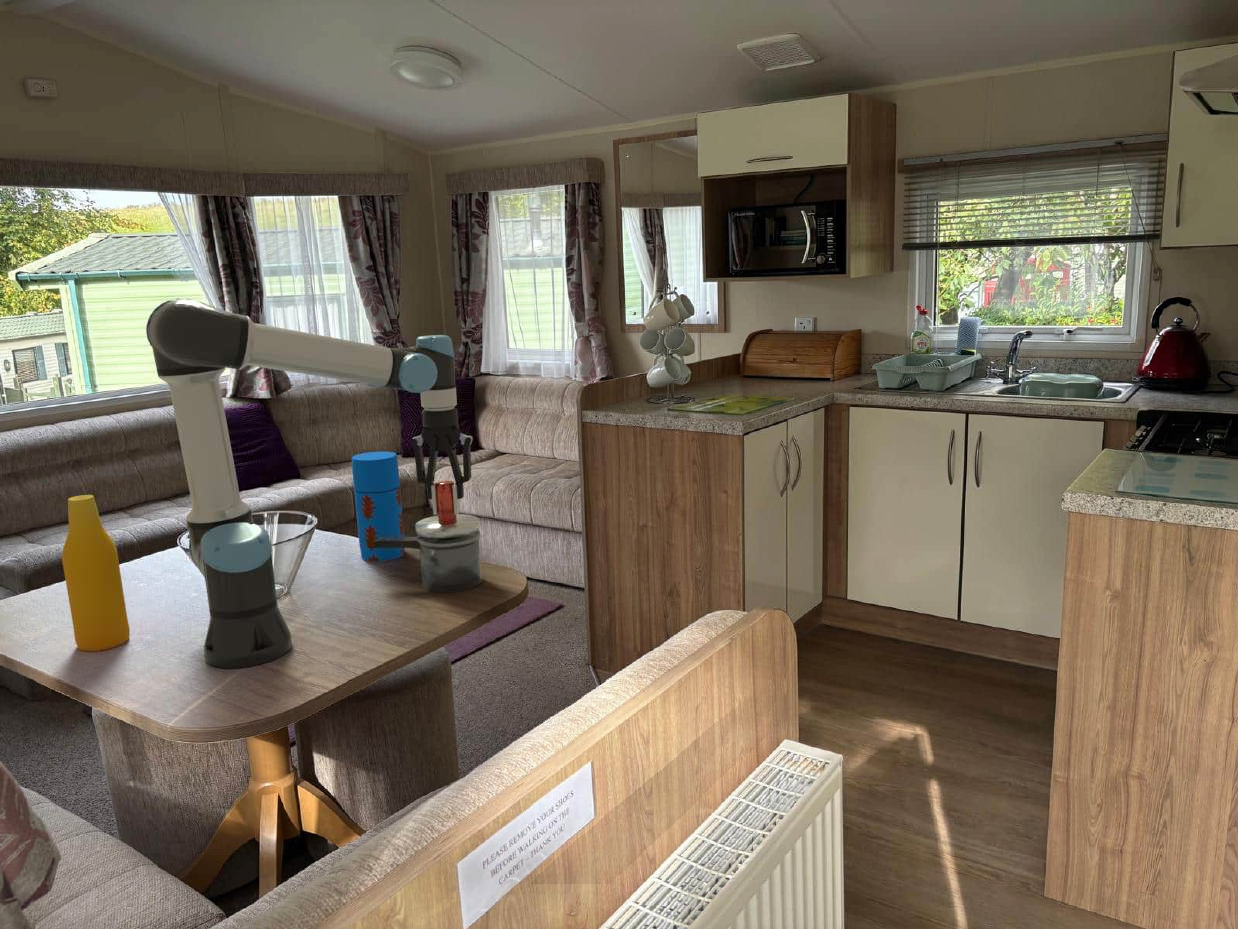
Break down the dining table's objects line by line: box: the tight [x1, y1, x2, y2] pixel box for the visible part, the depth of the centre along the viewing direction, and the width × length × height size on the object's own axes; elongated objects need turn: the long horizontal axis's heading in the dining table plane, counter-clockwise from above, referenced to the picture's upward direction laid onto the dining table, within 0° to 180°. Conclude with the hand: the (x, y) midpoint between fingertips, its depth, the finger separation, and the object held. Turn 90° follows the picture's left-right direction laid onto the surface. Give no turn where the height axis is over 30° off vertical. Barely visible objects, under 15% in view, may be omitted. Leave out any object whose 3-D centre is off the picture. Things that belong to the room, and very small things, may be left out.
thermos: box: [351, 451, 406, 562], centre depth 226 cm, size 11×11×25 cm
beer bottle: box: [61, 494, 131, 652], centre depth 176 cm, size 9×9×29 cm
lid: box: [414, 480, 481, 538], centre depth 203 cm, size 14×14×10 cm
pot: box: [374, 529, 483, 593], centre depth 206 cm, size 14×23×11 cm, turn 87°
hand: (447, 512), depth 204 cm, fingers closed on lid, 4 cm apart
